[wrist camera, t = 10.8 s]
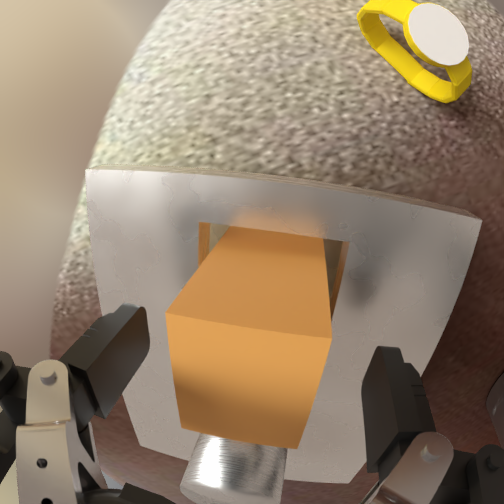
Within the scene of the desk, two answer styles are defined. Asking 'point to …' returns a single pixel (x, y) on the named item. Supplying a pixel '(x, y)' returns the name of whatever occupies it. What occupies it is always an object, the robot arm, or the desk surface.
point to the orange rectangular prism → (252, 337)
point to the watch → (421, 45)
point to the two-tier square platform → (340, 297)
